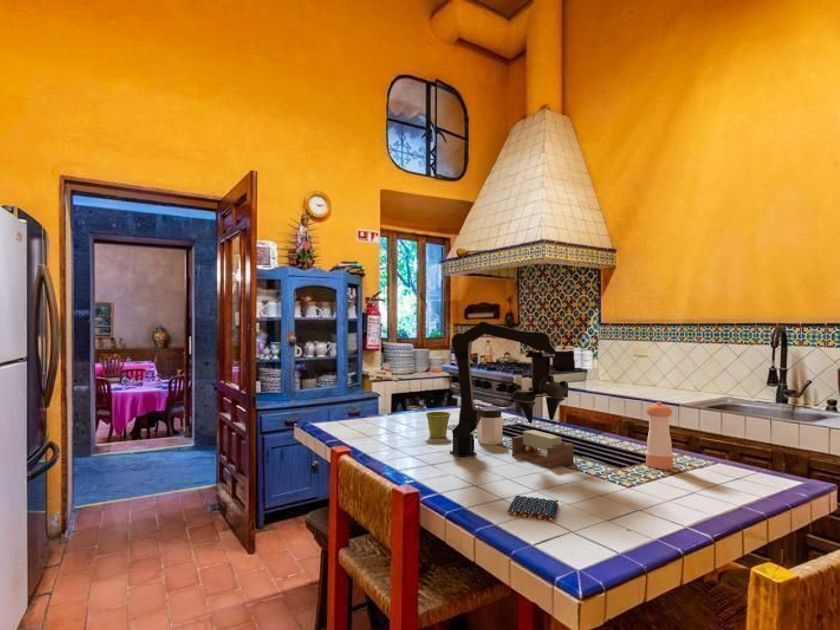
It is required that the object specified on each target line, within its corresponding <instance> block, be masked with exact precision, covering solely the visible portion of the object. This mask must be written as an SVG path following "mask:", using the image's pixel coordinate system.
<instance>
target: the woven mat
mask: <svg viewBox="0 0 840 630" xmlns="http://www.w3.org/2000/svg"><path fill="white" fill-rule="evenodd" d="M559 506H560V505H559V500H558V499H556V500H554V499H549V498H548V499H546V498H539V497H533V496H531V497H530V496H526V495H524V496H523V495H521V496H520V495H515V496H514V498H513V500H512V501H511V504H510V505H509V508H508V510H507V513H508V514H507V515H508V517H511V516H513V517H517V516H518V518H521V517H523V518H528V519H532V518H533V519H535V520H536V519H538V520H539V521H540V520H543V521H547V519H548V520H549V521H550V522H553V521H554V520H555V519H556V515H557V511H558V508H559Z"/></svg>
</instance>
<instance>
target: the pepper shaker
mask: <svg viewBox="0 0 840 630" xmlns="http://www.w3.org/2000/svg"><path fill="white" fill-rule="evenodd" d="M645 410H646V413H647V415H648V421H649V422H648V435H647V440H646V447H647V448H646V449H647V451H646V453H645V465H646V466H647V465H648V466H647V467H649V466H650V467H649V468H652V467H653V468H652V469H656V468H658V469H657V470H671V469H673V467H674V456H673V454H672V438H671V434H670V433H671V432H670V417H671V416H672V414H673V411H672V408H671V407H670V406H668V405H666V404H663V403H662V402H661V401H657V402H655V403H653V404H650V405H648V406H647V407H646V409H645Z"/></svg>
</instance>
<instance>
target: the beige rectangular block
mask: <svg viewBox="0 0 840 630" xmlns="http://www.w3.org/2000/svg"><path fill="white" fill-rule="evenodd" d="M522 436H523V444H525V445H529V446H532V447H535V448H537V449H538V450H541V451H545V452H547V447H552V446H557V445H562V444H563V443H562V436H558V435H555V434H552V433H547V432H543V431H539V430H535V429H531V430H523V432H522Z"/></svg>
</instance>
